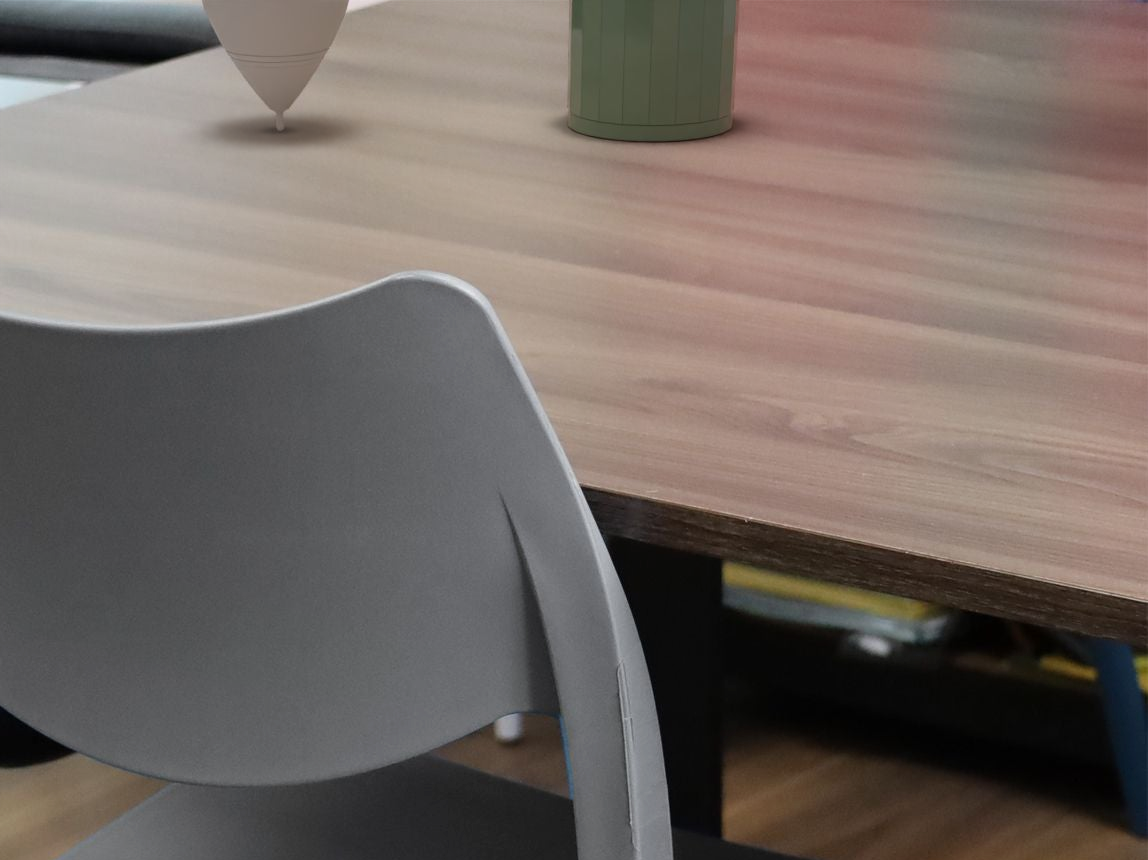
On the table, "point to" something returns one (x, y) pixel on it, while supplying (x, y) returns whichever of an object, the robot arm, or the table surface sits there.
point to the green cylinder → (652, 68)
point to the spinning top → (276, 43)
